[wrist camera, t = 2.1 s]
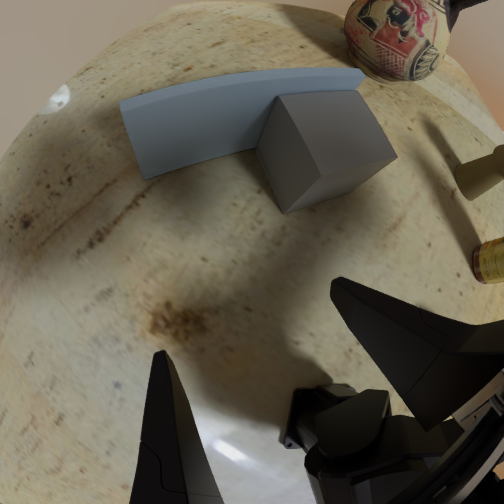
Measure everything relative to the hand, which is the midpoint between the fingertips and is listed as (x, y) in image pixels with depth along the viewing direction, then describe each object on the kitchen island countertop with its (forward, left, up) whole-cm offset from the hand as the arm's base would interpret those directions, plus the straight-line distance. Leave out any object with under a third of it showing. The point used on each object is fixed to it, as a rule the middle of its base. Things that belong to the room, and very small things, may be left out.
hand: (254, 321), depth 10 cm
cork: (+23, -35, -14) cm, 44 cm away
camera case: (+14, -6, -14) cm, 21 cm away
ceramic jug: (+39, -18, -14) cm, 45 cm away
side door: (+15, +1, -13) cm, 20 cm away
